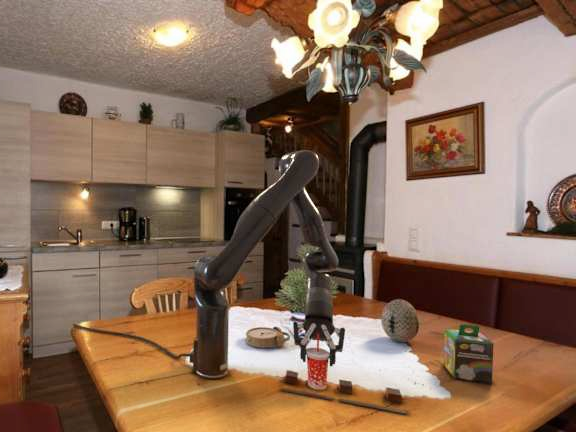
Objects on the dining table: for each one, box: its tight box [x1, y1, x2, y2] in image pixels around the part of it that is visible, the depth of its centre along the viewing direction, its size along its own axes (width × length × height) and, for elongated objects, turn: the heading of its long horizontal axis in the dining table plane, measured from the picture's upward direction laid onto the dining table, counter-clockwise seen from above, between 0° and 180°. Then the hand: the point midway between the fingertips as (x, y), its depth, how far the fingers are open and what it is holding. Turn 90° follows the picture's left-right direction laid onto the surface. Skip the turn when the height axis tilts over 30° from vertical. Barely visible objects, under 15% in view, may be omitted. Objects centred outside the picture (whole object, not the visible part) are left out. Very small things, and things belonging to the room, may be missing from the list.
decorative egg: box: [380, 298, 420, 343], centre depth 127 cm, size 12×12×15 cm
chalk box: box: [443, 323, 495, 385], centre depth 102 cm, size 9×9×15 cm
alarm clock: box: [245, 326, 291, 349], centre depth 123 cm, size 11×5×15 cm
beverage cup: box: [306, 333, 330, 391], centre depth 94 cm, size 6×6×14 cm
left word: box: [281, 370, 333, 401], centre depth 93 cm, size 12×8×2 cm, turn 70°
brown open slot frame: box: [338, 379, 407, 416], centre depth 87 cm, size 14×8×2 cm, turn 70°
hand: (317, 362), depth 92 cm, fingers closed on beverage cup, 6 cm apart
